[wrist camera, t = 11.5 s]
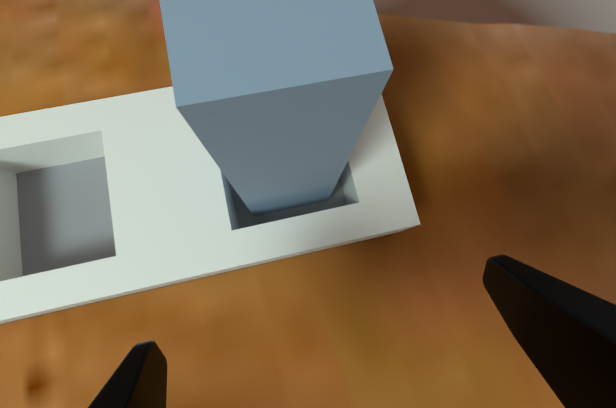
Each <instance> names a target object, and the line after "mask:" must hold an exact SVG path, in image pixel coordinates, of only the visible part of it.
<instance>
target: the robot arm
mask: <svg viewBox="0 0 616 408" xmlns="http://www.w3.org/2000/svg"><path fill="white" fill-rule="evenodd" d="M483 284H484V286H485V288H486V290H487V292H488V293H489V295H490V297H491V299H492V300H493V302H494V304H495V305H496V307H497V309H498V311H499V312H500V314H501V316H502V317H503V319H504V321H505V323H506V324H507V326H508V328H509V329H510V331H511V333H512V334H513V336H514V337H515V339H516V340H517V342H518V343H519V345H520V346H521V347H522V349H523V350H524V351H525V353H526V354H527V356H528V357H529V358H530V360H531V361H532V363H533V364H534V365H535V367H536V368H537V369H538V371H539V372H540V374H541V375H542V376H543V378H544V379H545V380H546V382H547V383H548V385H549V386H550V387H551V389H552V390H553V392H554V393H555V394H556V396H557V397H558V398H559V400H560V401H561V403H562V404H563V405H564V407H565V408H616V305H615V304H612V303H610V302H608V301H606V300H603V299H601V298H599V297H597V296H595V295H592V294H590V293H588V292H586V291H584V290H581V289H579V288H577V287H575V286H573V285H570V284H568V283H566V282H564V281H561V280H559V279H557V278H555V277H553V276H550V275H548V274H546V273H544V272H542V271H539V270H537V269H535V268H533V267H531V266H528V265H526V264H524V263H522V262H519V261H517V260H515V259H513V258H511V257H508V256H506V255H498V256H494V257H490V258H489V259H488V260H487V262H486V266H485V270H484V274H483ZM166 390H167V361H166V358H165V356H164V355H163V353H162V352H161V350H160V349H159V347H158V346H157V344H156V343H155V342H154V341H152V340H149V341H145V342H141V343H138V344H136V345H135V346H133V348H132V349H131V350H130V352H129V353H128V354H127V356H126V357H125V358H124V360H123V361H122V362H121V364H120V365H119V366H118V368H117V369H116V370H115V372H114V373H113V374H112V376H111V377H110V379H109V380H108V381H107V383H106V384H105V385H104V387H103V388H102V389H101V391H100V392H99V393H98V395H97V396H96V397H95V399H94V400H93V401H92V403H91V404H90V405H89V407H88V408H166Z"/></svg>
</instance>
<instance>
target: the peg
mask: <svg viewBox="0 0 616 408" xmlns="http://www.w3.org/2000/svg"><path fill="white" fill-rule="evenodd" d="M160 6H161V13H162V19H163V26H164V33H165V39H166V46H167V52H168V59H169V65H170V72H171V78H172V85H173V91H174V98H175V104H176V108H177V109H178V111H179V112H180V113H181V115H182V116H183V118H184V119H185V120H186V122H187V123H188V125H189V126H190V127H191V129H192V130H193V132H194V133H195V134H196V136H197V137H198V139H199V140H200V142H201V143H202V144H203V146H204V147H205V149H206V150H207V151H208V153H209V154H210V156H211V157H212V158H213V160H214V161H215V163H216V164H217V165H218V167H219V168H220V170H221V171H222V172H223V174H224V175H225V177H226V178H227V179H228V181H229V182H230V184H231V185H232V186H233V188H234V189H235V191H236V192H237V193H238V195H239V196H240V198H241V199H242V200H243V202H244V203H245V205H246V206H247V208H248V209H249V210H250V212H251V213H252V215H253V216H256V215H261V214H266V213H271V212H276V211H281V210H285V209H290V208H295V207H300V206H305V205H310V204H315V203H319V202H324V201H328V200H329V198H330V196H331V194H332V192H333V190H334V188H335V186H336V184H337V182H338V180H339V178H340V176H341V174H342V172H343V170H344V168H345V166H346V164H347V162H348V160H349V158H350V156H351V154H352V152H353V150H354V148H355V146H356V144H357V142H358V140H359V138H360V136H361V134H362V132H363V130H364V128H365V126H366V124H367V122H368V120H369V118H370V116H371V114H372V111H373V109H374V107H375V105H376V103H377V101H378V99H379V97H380V95H381V93H382V91H383V89H384V87H385V85H386V83H387V81H388V79H389V77H390V75H391V73H392V71H393V66H392V62H391V59H390V56H389V52H388V49H387V46H386V42H385V39H384V35H383V32H382V29H381V25H380V22H379V19H378V15H377V12H376V9H375V5H374V2H373V0H160Z"/></svg>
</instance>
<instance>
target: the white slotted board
mask: <svg viewBox="0 0 616 408" xmlns="http://www.w3.org/2000/svg"><path fill="white" fill-rule="evenodd" d="M417 225H420V221H419V217H418V214H417V211H416V207H415V204H414V200H413V197H412V194H411V190H410V187H409V184H408V180H407V177H406V174H405V170H404V167H403V164H402V160H401V157H400V154H399V150H398V147H397V143H396V140H395V137H394V133H393V130H392V127H391V123H390V120H389V117H388V113H387V110H386V107H385V103H384V100H383V97H382V93H381V95H380V97H379V99H378V101H377V103H376V105H375V107H374V109H373V111H372V114H371V116H370V118H369V120H368V122H367V124H366V126H365V128H364V130H363V132H362V134H361V136H360V138H359V140H358V142H357V144H356V146H355V148H354V150H353V152H352V154H351V156H350V158H349V160H348V162H347V164H346V166H345V168H344V170H343V172H342V174H341V176H340V178H339V180H338V182H337V184H336V186H335V188H334V190H333V192H332V194H331V196H330V198H329V200H328V201H324V202H319V203H315V204H310V205H305V206H300V207H295V208H290V209H285V210H281V211H276V212H271V213H266V214H261V215H256V216H253V215H252V213H251V212H250V210H249V209H248V208H247V206H246V205H245V203H244V202H243V200H242V199H241V198H240V196H239V195H238V193H237V192H236V191H235V189H234V188H233V186H232V185H231V184H230V182H229V181H228V179H227V178H226V177H225V175H224V174H223V172H222V171H221V170H220V168H219V167H218V165H217V164H216V163H215V161H214V160H213V158H212V157H211V156H210V154H209V153H208V151H207V150H206V149H205V147H204V146H203V144H202V143H201V142H200V140H199V139H198V137H197V136H196V134H195V133H194V132H193V130H192V129H191V127H190V126H189V125H188V123H187V122H186V120H185V119H184V118H183V116H182V115H181V113H180V112H179V111H178V109H177V108H176V104H175V98H174V91H173V86H172V87H166V88H161V89H155V90H150V91H144V92H138V93H133V94H127V95H121V96H116V97H110V98H104V99H99V100H93V101H88V102H82V103H76V104H71V105H65V106H59V107H54V108H48V109H42V110H37V111H31V112H25V113H20V114H14V115H9V116H3V117H0V324H5V323H9V322H13V321H18V320H22V319H26V318H31V317H35V316H39V315H44V314H48V313H52V312H57V311H61V310H65V309H70V308H74V307H78V306H83V305H87V304H91V303H96V302H100V301H104V300H109V299H113V298H117V297H122V296H126V295H130V294H135V293H139V292H143V291H148V290H152V289H156V288H161V287H165V286H169V285H174V284H178V283H183V282H187V281H191V280H196V279H200V278H204V277H209V276H213V275H217V274H222V273H226V272H230V271H235V270H239V269H243V268H248V267H252V266H256V265H261V264H265V263H269V262H274V261H278V260H282V259H287V258H291V257H295V256H300V255H304V254H308V253H313V252H317V251H321V250H326V249H330V248H334V247H339V246H343V245H347V244H352V243H356V242H360V241H365V240H369V239H373V238H378V237H382V236H386V235H391V234H395V233H398V232H401V231H403V230H406V229H409V228H412V227H414V226H417Z"/></svg>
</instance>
